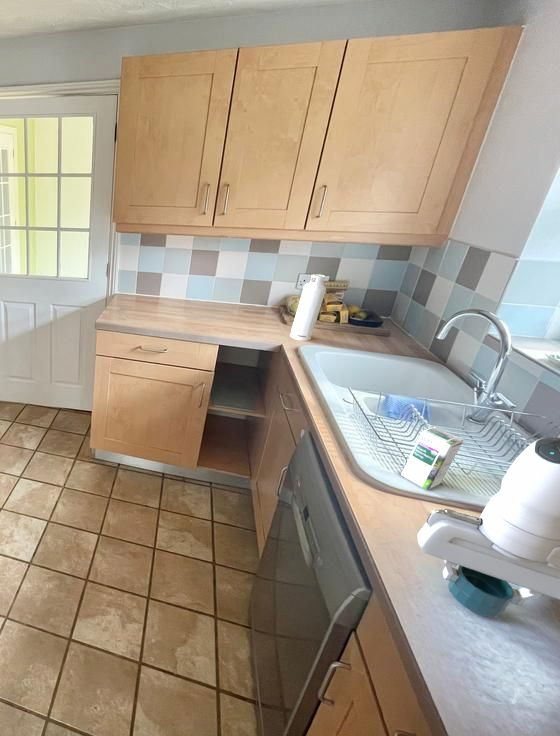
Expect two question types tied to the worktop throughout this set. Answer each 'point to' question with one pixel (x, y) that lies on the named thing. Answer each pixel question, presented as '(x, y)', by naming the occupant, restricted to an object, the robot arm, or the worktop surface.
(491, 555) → the robot arm
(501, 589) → the bowl
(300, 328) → the bottle
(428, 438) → the syrup box
